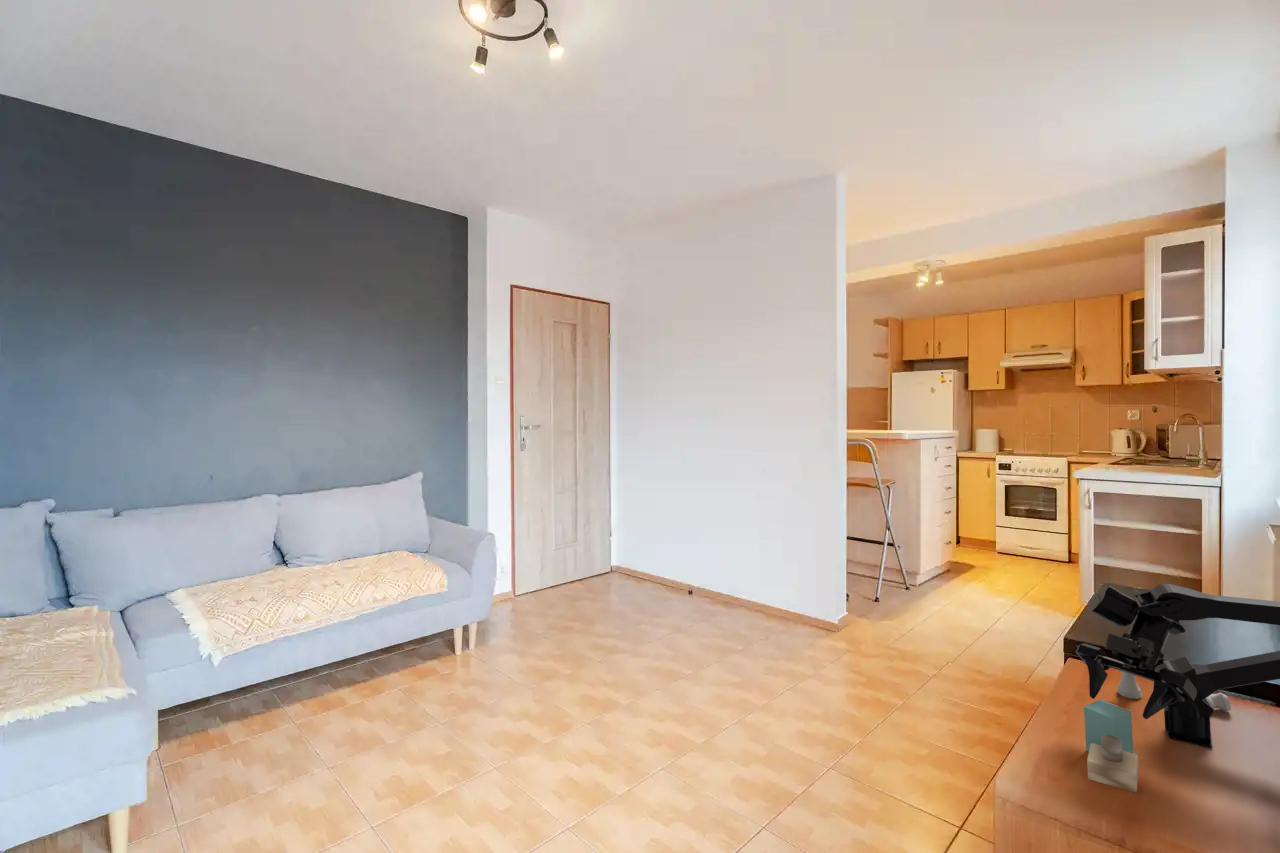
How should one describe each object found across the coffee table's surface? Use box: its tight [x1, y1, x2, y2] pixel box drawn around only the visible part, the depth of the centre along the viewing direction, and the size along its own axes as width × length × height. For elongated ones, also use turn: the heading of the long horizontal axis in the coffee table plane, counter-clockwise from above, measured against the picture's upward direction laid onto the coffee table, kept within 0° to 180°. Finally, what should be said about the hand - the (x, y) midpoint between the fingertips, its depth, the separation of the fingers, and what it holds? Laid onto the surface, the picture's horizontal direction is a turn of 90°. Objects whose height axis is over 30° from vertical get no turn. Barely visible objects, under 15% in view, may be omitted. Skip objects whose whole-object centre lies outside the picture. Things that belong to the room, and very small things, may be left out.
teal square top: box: [1083, 699, 1135, 754], centre depth 118 cm, size 5×5×9 cm
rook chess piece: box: [1116, 666, 1143, 700], centre depth 138 cm, size 4×4×8 cm
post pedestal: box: [1086, 735, 1139, 794], centre depth 111 cm, size 7×7×7 cm
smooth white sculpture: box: [1206, 692, 1232, 713], centre depth 130 cm, size 4×8×5 cm
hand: (1117, 707), depth 118 cm, fingers open, 9 cm apart
